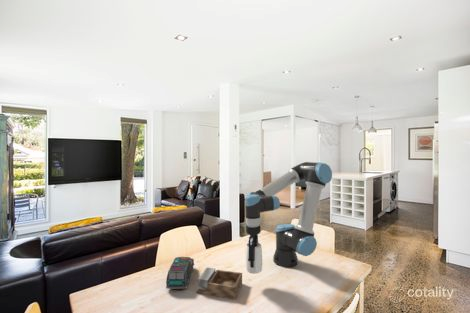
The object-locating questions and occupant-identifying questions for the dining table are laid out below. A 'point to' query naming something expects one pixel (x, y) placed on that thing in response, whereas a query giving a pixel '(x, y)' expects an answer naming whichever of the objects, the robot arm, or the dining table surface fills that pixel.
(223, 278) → the wooden open tray
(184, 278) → the toy van
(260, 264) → the cup
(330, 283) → the dining table surface
